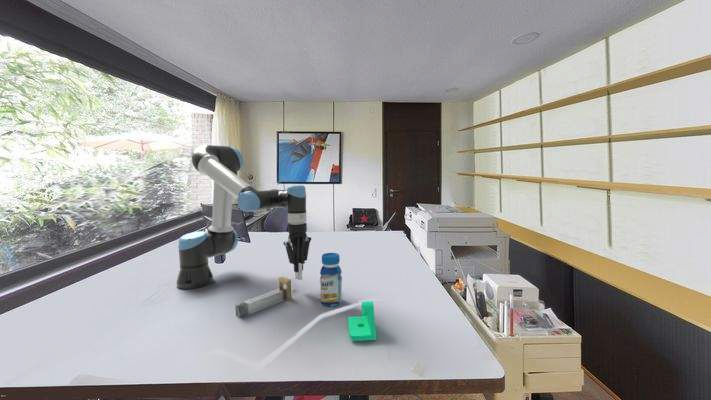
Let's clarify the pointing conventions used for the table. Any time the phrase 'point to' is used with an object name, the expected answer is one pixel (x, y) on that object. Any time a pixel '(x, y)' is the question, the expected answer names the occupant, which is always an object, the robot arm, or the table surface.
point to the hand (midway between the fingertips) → (298, 278)
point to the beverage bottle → (331, 280)
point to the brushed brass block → (288, 286)
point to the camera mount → (363, 324)
